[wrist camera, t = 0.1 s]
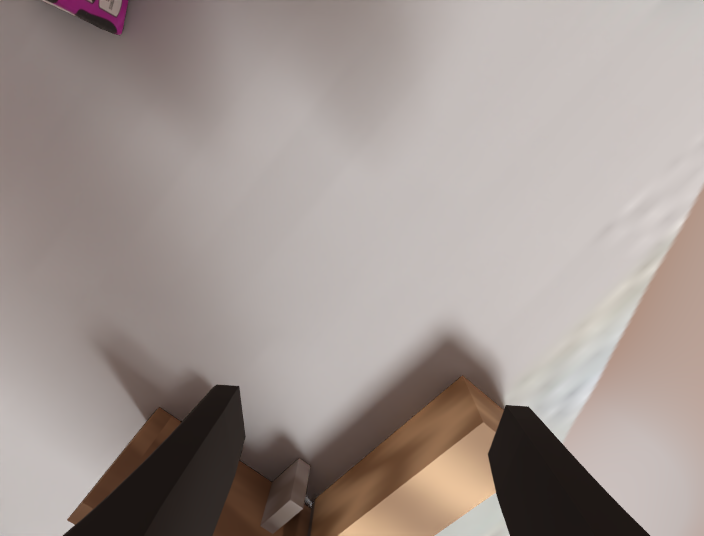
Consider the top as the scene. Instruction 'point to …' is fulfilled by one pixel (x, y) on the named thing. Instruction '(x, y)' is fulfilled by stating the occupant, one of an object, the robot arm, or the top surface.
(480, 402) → the tan wooden bar
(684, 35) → the top surface
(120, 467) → the wooden base
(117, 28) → the candy bar box
